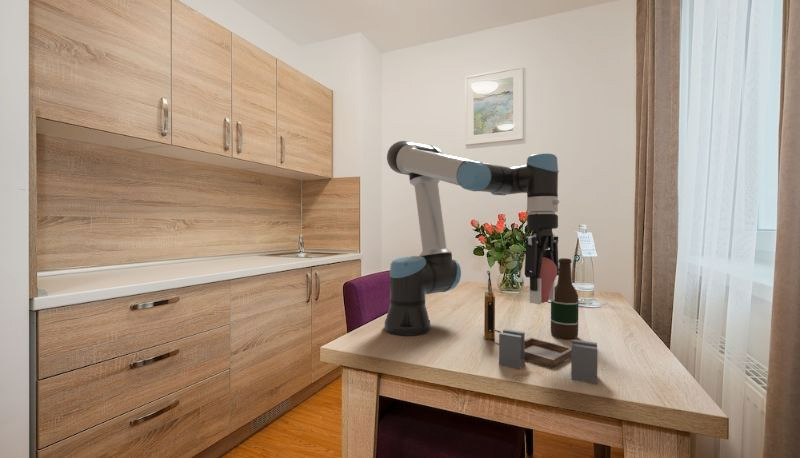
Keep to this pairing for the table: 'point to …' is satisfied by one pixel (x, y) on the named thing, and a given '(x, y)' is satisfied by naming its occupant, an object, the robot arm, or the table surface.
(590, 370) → the grey flat block
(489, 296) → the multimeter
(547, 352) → the shallow rectangular tray
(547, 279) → the light bulb
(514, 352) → the grey block
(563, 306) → the beer bottle
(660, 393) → the table surface
